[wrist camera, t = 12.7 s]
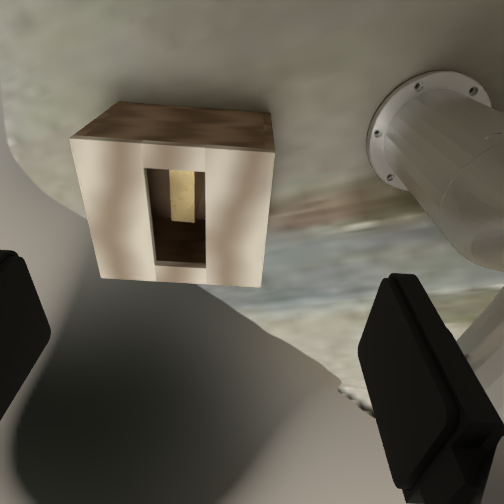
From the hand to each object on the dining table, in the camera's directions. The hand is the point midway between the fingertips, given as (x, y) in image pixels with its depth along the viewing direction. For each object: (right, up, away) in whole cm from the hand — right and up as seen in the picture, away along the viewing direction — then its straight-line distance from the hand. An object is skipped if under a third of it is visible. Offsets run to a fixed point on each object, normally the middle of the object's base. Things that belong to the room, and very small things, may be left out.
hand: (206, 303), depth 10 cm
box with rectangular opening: (-5, +11, +32) cm, 34 cm away
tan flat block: (-6, +7, +26) cm, 27 cm away
